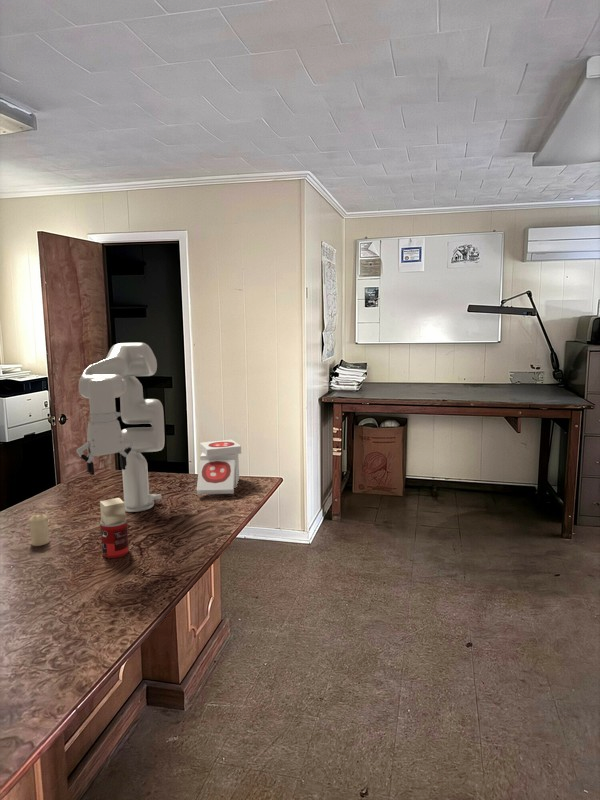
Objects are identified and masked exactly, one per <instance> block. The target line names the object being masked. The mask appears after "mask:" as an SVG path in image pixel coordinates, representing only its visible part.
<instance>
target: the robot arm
mask: <svg viewBox="0 0 600 800" xmlns="http://www.w3.org/2000/svg"><path fill="white" fill-rule="evenodd" d="M157 368H158V362H157V358H156V356H155V354H154V352H153V350H152V348H151V347H150V346H149V344H147V343H145V342H120V343H119V342H118V343H116V344H113V345H112V346H111V347H110V349H109V351H108V353H107V355H106V357H105V359H102V360H100V361H97V362H95V363H93V364H90V365H89V366H87V367H86V368H85V369H84V370H83V372H82V374H81V376H80V378H79V381H78V392H79V394H80V396H81V397H83V398H85V399H88V400H89V414H90V415H89V416H90V422H88V424H87V432H86V443H84V444H83V445H81V446H80V447H77V448H76V451H75V452H76V453H77V454H78V455H79V457H80V458H81V459H82V460H84V461H85V462H86V469H87V473H89V474H90V475H91V476H95V466H94V462H93V460H94V459H95V457H96V456H99V457H100V456H103V455H112V454H117V453H119V466H120V469H121V472H122V474H121V475H122V486H123V502H125V513H127V512H128V513H134V512H135V513H138V512H145V511H147V510H149V509H151V508H153V507H154V505H155V502H154V501H155V500H161V499H162V497H163V496H162V494H161V493H158V494H157V493H150V488H149V473H148V462H147V459H146V458H145V456H144V455H143V454H142V453H153V452H159V451H162V450H163V449H164V447H165V418H164V417H165V415H164V406H163V404H162V402H161V400H160V399H156V398H144V392H143V391H144V390H143V385H142V383H141V382H140V380H139V379H138V378H137V377H151V376H153V375H155V374H156V373H157ZM116 398H117V399H118V398H119V401H120V402H119V403H120V411H117V407H116ZM119 417H120V418H121V421H122V423H124V424H125V425H141V424H142V425H143V424H144V425H145V424H147V425H148V424H150V425H151V426H150V427H149V426H148V427H145V426H142V427H127V428H123V429H122V428H121V424H120V421H119V420H118V418H119ZM86 450H87V453H88V454H87V455H85V453H84V451H86Z"/></svg>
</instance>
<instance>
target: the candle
mask: <svg viewBox="0 0 600 800" xmlns="http://www.w3.org/2000/svg"><path fill="white" fill-rule="evenodd" d="M28 521H29V531H30V541H31V545H32V546H34V547H39V546H45V545H47V544H49V543H50V531H49V529H50V528H49V520H48V516H47V515H46V514H44V513H37V512H36V513H34V514H32V516H31V517H30V518H29V519H28Z"/></svg>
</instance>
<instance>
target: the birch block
mask: <svg viewBox="0 0 600 800" xmlns="http://www.w3.org/2000/svg"><path fill="white" fill-rule="evenodd" d="M99 508H100V521H101V520H102V521H103V522H104V523H105V524H106V525H110V524H114V523H119V522H124V521H126V520H127V518H126V517H127V515H126V511H125V502H124V500H122V499H121V498H120V497H115V498H110V499H105V500H104V499H103V500H100V501H99Z"/></svg>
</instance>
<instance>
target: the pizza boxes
mask: <svg viewBox="0 0 600 800" xmlns="http://www.w3.org/2000/svg"><path fill="white" fill-rule="evenodd" d="M199 451H201V454H200V456H199V457H200V459H199V464H198V474H197V484H196V494H197V495H233V494H234V492H235V489H234V488H235V487H237V488H238V485H239V482H238V481H239V480H240V468H239V467H240V464H239V462H240V461H239V454H240V455H241V454H242V446H241V445H240V444H239V443H238V442H237V441H235V440H234V439H224V440H214V441H213V440H212V441H205V442H204V441H203V442H202V441H201V442H199ZM237 484H238V485H237Z"/></svg>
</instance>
